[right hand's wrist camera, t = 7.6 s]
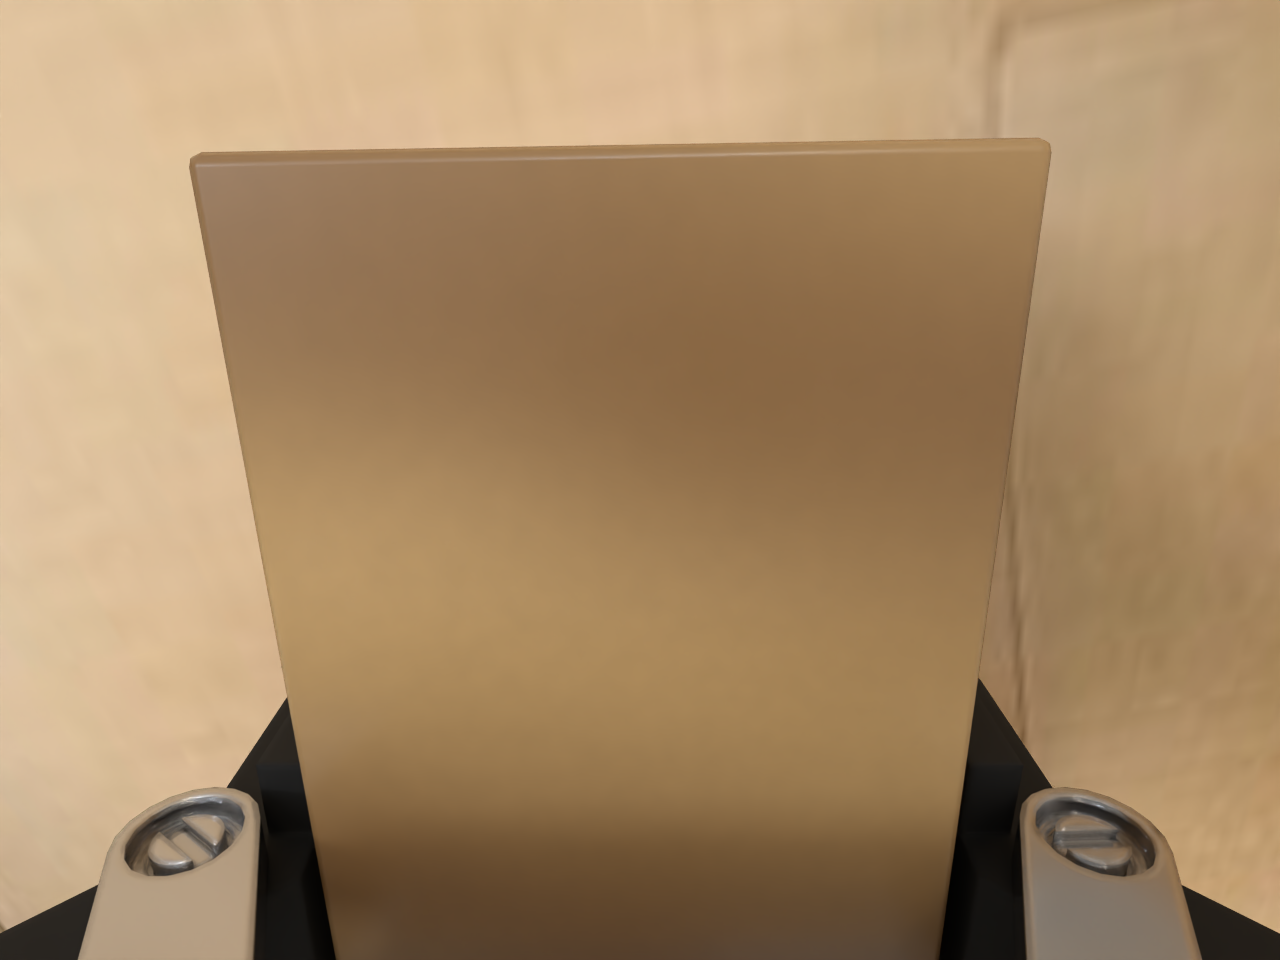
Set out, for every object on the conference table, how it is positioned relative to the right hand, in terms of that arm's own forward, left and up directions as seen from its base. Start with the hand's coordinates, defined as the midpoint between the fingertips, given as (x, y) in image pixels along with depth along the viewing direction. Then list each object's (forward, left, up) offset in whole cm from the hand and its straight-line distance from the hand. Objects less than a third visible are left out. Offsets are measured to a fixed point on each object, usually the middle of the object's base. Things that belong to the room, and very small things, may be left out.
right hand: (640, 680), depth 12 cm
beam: (+9, +16, -2) cm, 18 cm away
